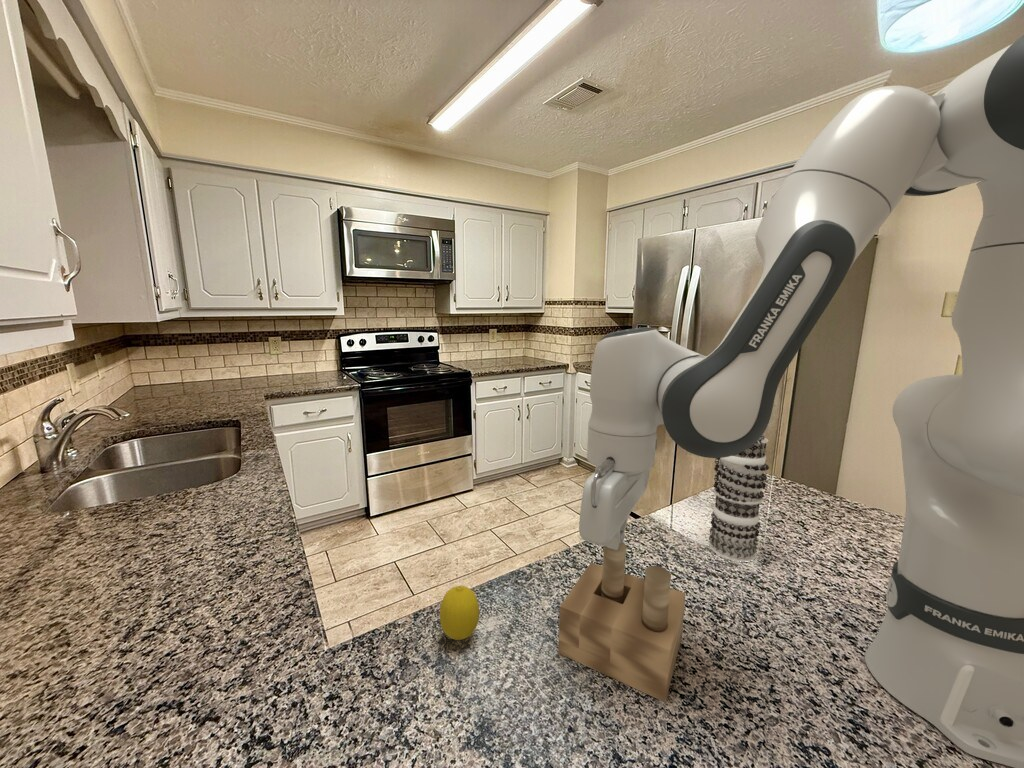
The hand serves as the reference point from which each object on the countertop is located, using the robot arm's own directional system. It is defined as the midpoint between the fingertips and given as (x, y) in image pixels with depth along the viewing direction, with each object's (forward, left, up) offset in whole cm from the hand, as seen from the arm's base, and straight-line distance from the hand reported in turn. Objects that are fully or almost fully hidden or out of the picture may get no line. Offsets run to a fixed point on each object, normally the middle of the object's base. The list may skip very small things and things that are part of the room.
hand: (614, 544), depth 57 cm
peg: (0, 0, -12) cm, 12 cm away
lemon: (+18, +12, -14) cm, 26 cm away
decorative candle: (-14, -35, -14) cm, 40 cm away
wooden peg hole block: (-2, +1, -14) cm, 14 cm away
